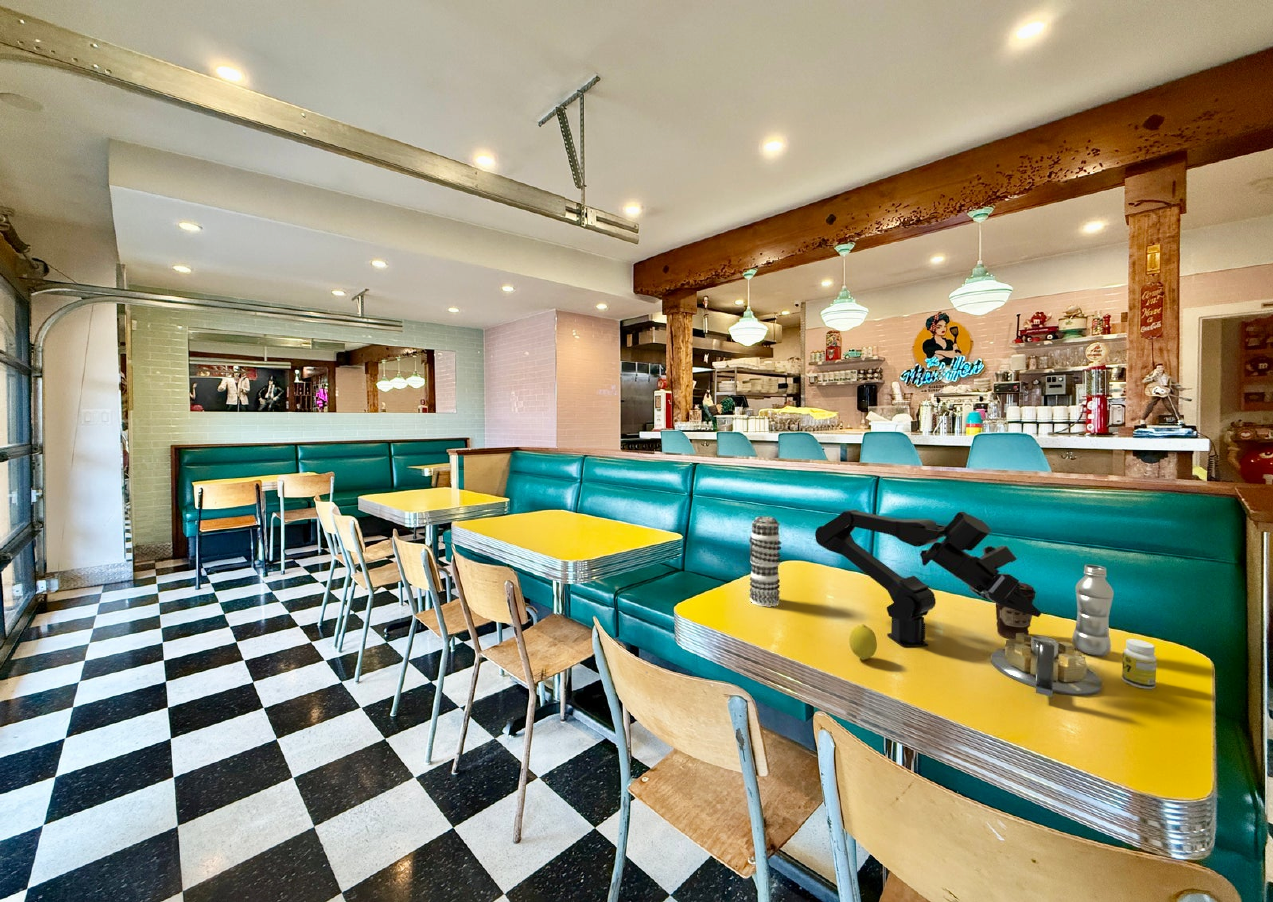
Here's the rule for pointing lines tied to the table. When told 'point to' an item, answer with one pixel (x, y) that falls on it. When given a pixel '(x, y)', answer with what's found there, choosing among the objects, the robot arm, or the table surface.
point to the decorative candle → (765, 562)
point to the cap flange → (1069, 688)
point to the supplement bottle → (1139, 664)
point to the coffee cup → (1014, 616)
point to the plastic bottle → (1093, 612)
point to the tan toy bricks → (1045, 662)
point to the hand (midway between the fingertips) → (1031, 612)
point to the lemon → (863, 642)
